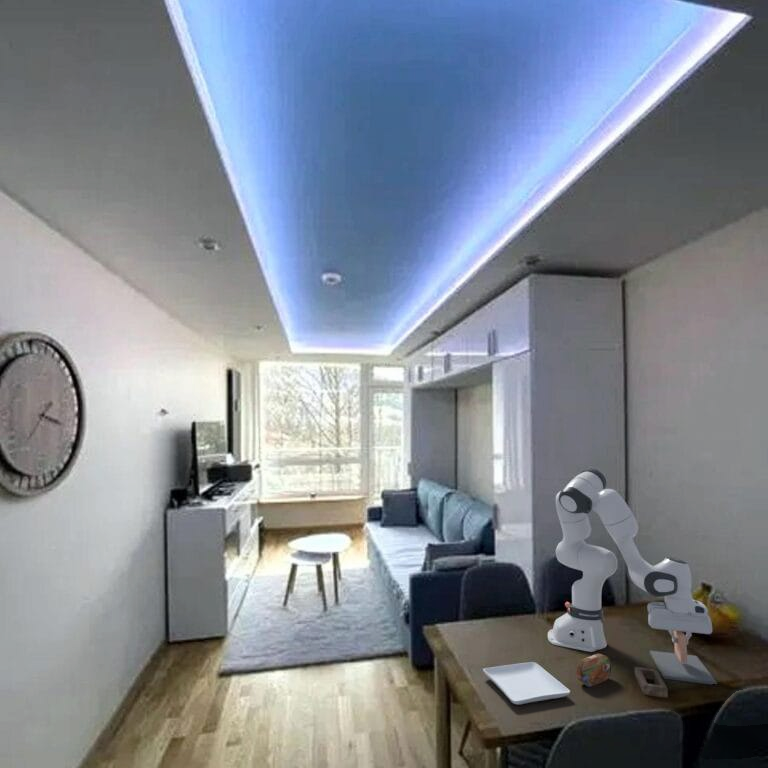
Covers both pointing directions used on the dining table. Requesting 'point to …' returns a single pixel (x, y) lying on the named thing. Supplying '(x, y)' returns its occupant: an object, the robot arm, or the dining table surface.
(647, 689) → the brown flat hollow block
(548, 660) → the dining table surface
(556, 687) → the salad plate
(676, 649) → the pink flat slab
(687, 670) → the rubber mat
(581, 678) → the tin
